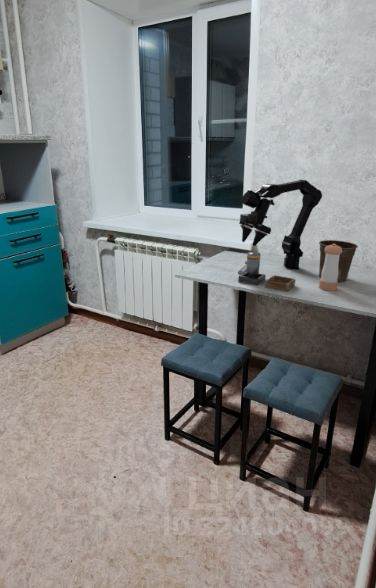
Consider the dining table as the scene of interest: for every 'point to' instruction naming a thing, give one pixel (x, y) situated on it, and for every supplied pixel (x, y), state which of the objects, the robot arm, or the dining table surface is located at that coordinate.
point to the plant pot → (344, 257)
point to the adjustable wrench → (243, 269)
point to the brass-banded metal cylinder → (253, 264)
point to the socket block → (251, 279)
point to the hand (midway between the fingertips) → (248, 243)
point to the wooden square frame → (280, 283)
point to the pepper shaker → (330, 268)
